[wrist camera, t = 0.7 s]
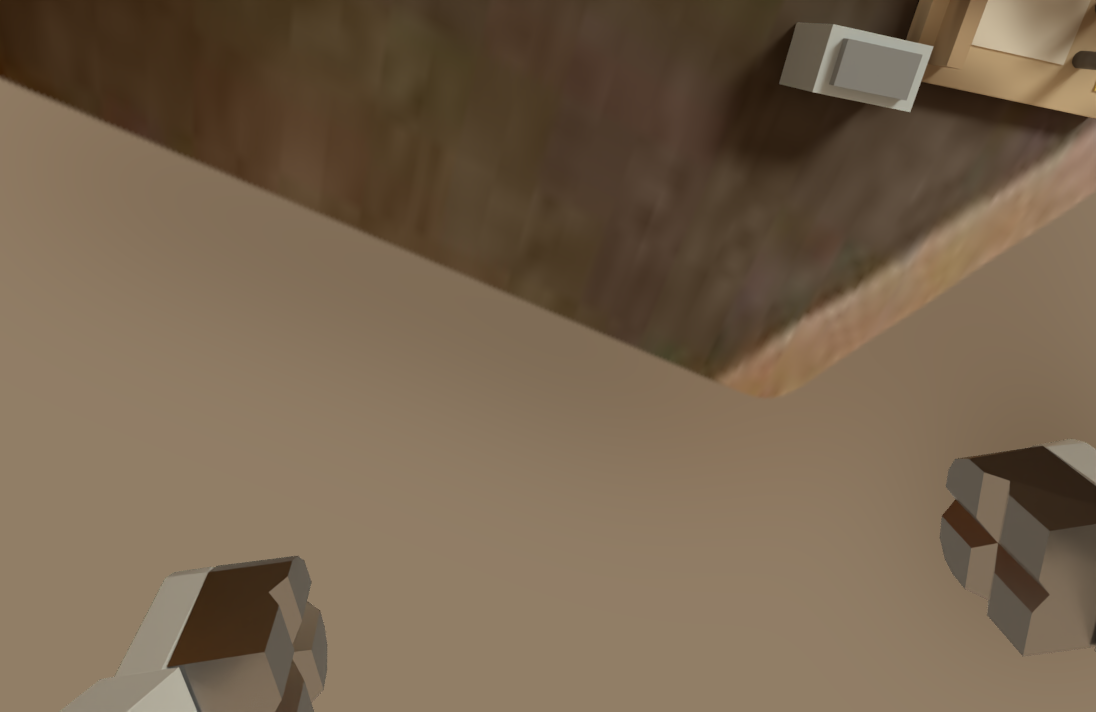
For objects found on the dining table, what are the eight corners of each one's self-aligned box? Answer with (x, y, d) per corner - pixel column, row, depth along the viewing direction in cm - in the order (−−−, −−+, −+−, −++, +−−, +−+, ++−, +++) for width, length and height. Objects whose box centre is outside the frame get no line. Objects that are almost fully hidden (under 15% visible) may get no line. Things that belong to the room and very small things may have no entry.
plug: (796, 22, 46) (838, 24, 41) (887, 42, 47) (939, 46, 42) (778, 83, 47) (817, 93, 42) (867, 102, 48) (915, 113, 43)
